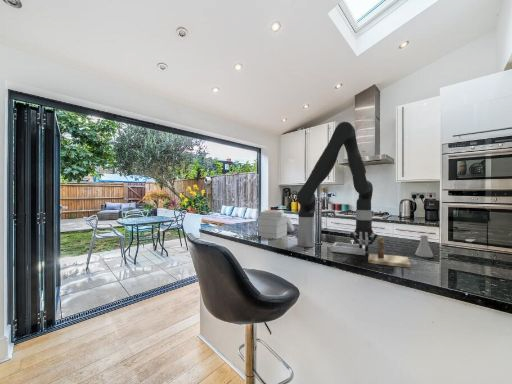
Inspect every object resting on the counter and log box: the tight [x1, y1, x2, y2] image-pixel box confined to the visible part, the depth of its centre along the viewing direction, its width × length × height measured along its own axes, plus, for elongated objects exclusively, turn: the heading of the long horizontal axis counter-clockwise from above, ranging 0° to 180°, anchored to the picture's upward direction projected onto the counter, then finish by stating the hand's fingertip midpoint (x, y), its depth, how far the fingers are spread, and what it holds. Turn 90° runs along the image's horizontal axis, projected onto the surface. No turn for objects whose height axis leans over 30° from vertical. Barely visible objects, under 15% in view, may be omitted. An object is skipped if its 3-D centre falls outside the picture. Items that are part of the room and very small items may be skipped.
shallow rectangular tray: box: [331, 241, 366, 256], centre depth 127 cm, size 16×10×3 cm, turn 62°
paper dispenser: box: [257, 209, 295, 240], centre depth 174 cm, size 19×30×18 cm, turn 146°
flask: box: [414, 234, 434, 258], centre depth 117 cm, size 7×7×10 cm
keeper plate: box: [367, 236, 411, 269], centre depth 108 cm, size 16×12×11 cm
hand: (363, 251), depth 123 cm, fingers closed on shallow rectangular tray, 1 cm apart
